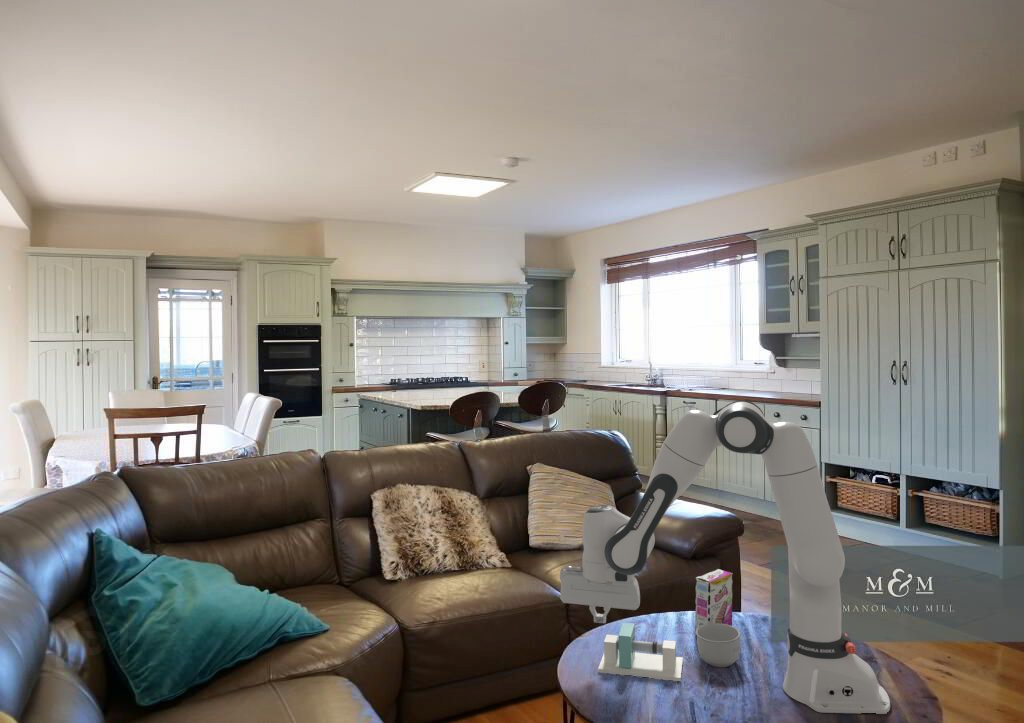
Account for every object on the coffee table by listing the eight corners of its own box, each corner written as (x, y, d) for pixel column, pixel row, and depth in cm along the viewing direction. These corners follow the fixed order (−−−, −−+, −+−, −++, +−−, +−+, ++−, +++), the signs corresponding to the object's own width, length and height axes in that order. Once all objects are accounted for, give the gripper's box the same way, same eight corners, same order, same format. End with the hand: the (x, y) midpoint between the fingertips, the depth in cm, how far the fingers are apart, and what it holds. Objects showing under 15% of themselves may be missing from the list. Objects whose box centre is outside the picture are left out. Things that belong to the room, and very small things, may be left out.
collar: (635, 653, 187) (634, 623, 187) (631, 668, 179) (630, 636, 179) (623, 652, 188) (622, 622, 188) (619, 666, 180) (618, 635, 180)
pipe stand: (683, 661, 185) (682, 635, 185) (680, 681, 175) (680, 654, 174) (605, 652, 191) (604, 628, 190) (598, 672, 180) (597, 646, 180)
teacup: (742, 673, 178) (742, 641, 178) (697, 670, 180) (697, 638, 180) (736, 648, 192) (736, 618, 192) (694, 645, 194) (694, 616, 194)
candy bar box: (710, 641, 196) (709, 582, 195) (694, 635, 200) (694, 577, 199) (733, 629, 203) (733, 572, 203) (718, 624, 207) (718, 567, 206)
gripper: (557, 569, 184) (557, 622, 185) (638, 576, 178) (638, 631, 179) (562, 561, 190) (562, 612, 191) (640, 568, 185) (640, 621, 185)
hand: (599, 622), depth 185 cm, fingers closed
